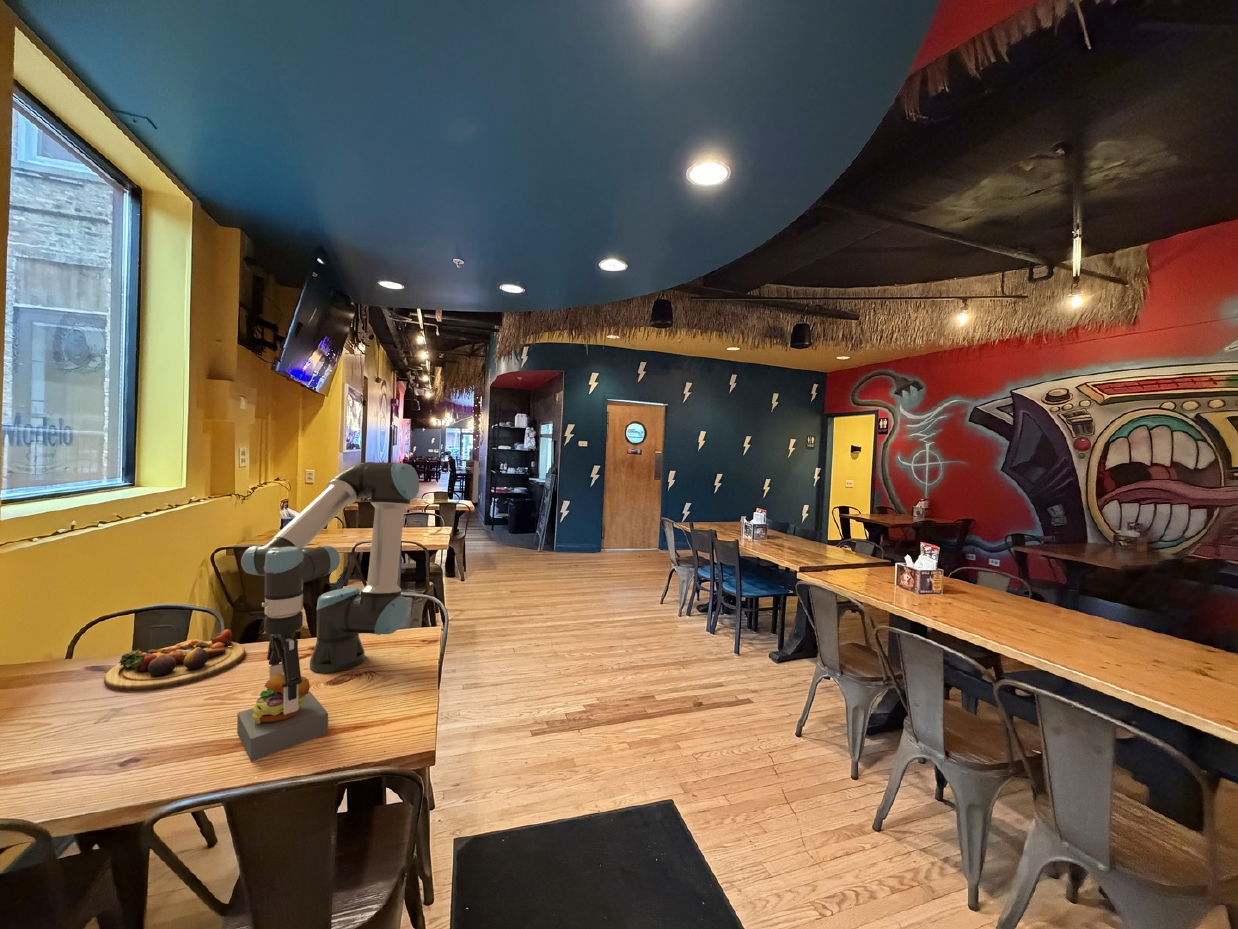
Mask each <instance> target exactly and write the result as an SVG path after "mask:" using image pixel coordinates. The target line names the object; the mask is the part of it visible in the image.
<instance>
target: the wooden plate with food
mask: <svg viewBox="0 0 1238 929" xmlns="http://www.w3.org/2000/svg"><path fill="white" fill-rule="evenodd" d="M232 640H233V632H232V630H231V629H223V630H222V631H220V632H219V631H218V633H216V635H214V636H212V637H211V638H210V640H201V639H198V638H193V639H188V640H185V641H183V642H179V643H176V644H175V645H171V646H168V647H167V646H166V647H163V648H159V649H154V648H153V649H148V650H146V651H145V653H143V651H141V650H140V648H138V649H137V650H131V651H128V652H127V653H123V655H121V658H120V660H119V662H118V664H116V665H115V666H113V667H112V668H111V669H110V670H108V671H107V673H105V676H103V677H104V678H103V682H104V684H105V686H107V687H108V688H109V689H112V690H115V691H121V692H147V691H155V690H156V691H157V690H162V689H168V688H174V687H177V686H182V685H187V684H190V683H194V682H196V681H200V680H203V679H206V678H209V677H212V676H214V675H218V674H220V673H222V672H224V671H227V670H229V669H230V668H232V667H234V666H235V665H237V664H238V663H240V661H242V659H243V658H244V657H245V655H246V649H245V647H244V646H243V645H242V644H241V643H238V642H234V641H232ZM228 646H232V647H228Z"/></svg>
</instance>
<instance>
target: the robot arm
mask: <svg viewBox="0 0 1238 929" xmlns="http://www.w3.org/2000/svg"><path fill="white" fill-rule="evenodd" d="M419 491H420V479H419V475H418V473H417V470H416V469H415V468H414V467H413V466H412V465H411V464H409V463H403V462H402V463H400V462H372V461H368V462H367V461H365V462H359V463H357V464H355V465H352V466H350V467H348V468H346V469H345V470H343V471H342V472H340V473H338V474H337V475H335V477H333V478H332V479H331V480H330V481H329V482H328V483H327V484H326V486H325V490H324V491H322V492H321V494H319V495H318V496H317V497H316V498H315V499H314V500H313V501H312V502H310V504H308V505H307V506H306V507H305V508H304V509H302V511H300V513H299V514H297V515H296V516H295V517H294V518H293V519H292V520H291V521H289V522H288V523H287V524H286V525H285V526H284V527H282V529H281V530H280V531H279V532H277V533H276V534H275V535H274V536H273V537H272V538H271V539H270V540H268V541H267V542H266V544H264V545H262V544H258V545H253V546H250V547H248V548H247V549H246V550H245V551H244V552H243V554H242V556H241V560H240V564H241V569H243V571H244V572H245V573H247V574H249V575H254V576H260V577H264V601H265V602H262V603H261V607H262V608H264V615H265V617H264V618H263V619H264V621H263V622H264V624H263V627H264V628H263V629H264V632H265V633H266V634H268V635H270V636H269V641H268V642H269V644H268V647H267V648H268V650H267V656H266V660H267V661H268V664H269V666H268V667H269V670H268V672H269V676H268V677H269V678H268V680H269V679H270V678H272V677H273V676H275V675H284V679H285V684H283V685H282V688H284V715H285V714H288V713H291V712H294V711H297V710H298V684H300V683H301V682H302V679H301V676H302V674H301V664H300V656H299V655H300V654H299V644H298V643H299V640H298V638H296V636H294V635H293V633H295V631H298V630H300V629H301V628H302V626H303V624H304V623H303V622H304V621H303V619H304V618H303V617H304V616H303V612H302V610H303V609H304V593H303V590H304V583H307V582H309V581H313V580H316V579H318V578H321V577H325V576H327V575H329V574H331V573H334V572H335V571H336V570H337V569H338V568H339V565H340V560H341V557H340V554H339V551H337V549H336V548H334V547H333V546H329V545H324V546H323V545H321V546H318V547H317V546H316V547H313V548H311V547H310V548H309V547H306V546H308V545H309V543H311V542H312V541H313V540H314V538H316V537H317V535H319V534H320V533H321V532H322V531H323V529H325V528H326V526H327V525H328V524H329V523H331V522H332V521H333V519H335V518H336V516H338V515H339V514H340V512H342V510H343V509H345V508H346V507H347V506H351V505H353V504H354V503H355V502H356V501H357V500H360V499H363V498H369V499H370V504H371V505H372V506H373V507H374V517H373V525H372V526H373V527H372V534H371V535H372V536H371V544H370V554H369V565H368V572H367V573H368V574H367V582H366V585H365V586H364V587H363V588H362V589H361V590H360V588H359V587H357V586H356V587H355V586H353V587H344V588H343V587H342V588H339V589H338V588H337V589H334V590H329V591H327V592H324V593H322V594H321V595H319V596H318V598H317V602H316V603H317V605H316V609H315V610H316V643H315V645H314V648H313V651H312V654H311V657H310V659H309V669H310V670H311V672H315V673H318V674H320V673H321V674H330V673H331V674H332V673H338V672H343V671H347V670H350V669H352V668H355V667H357V666H358V665H361V664H362V663H363V662H364V661H365V652H366V651H365V649H364V646H363V644H362V641H361V638H360V634H370V635H371V634H373V635H377V636H381V635H392V634H393V633H395V632H397V631H398V630H399V629H400V628H401V626H402V625H403V624H404V621H405V620H406V617H407V613H408V606H409V604H408V600H407V598H406V597H404V595H403V596H402V588H401V587H400V586H399V585H398V579H399V578H398V576H399V565H400V556H401V546H402V535H403V528H404V527H403V524H404V517H405V510H406V509H407V508H408V507H409V506H410V505H411V500H414V499H415V498H416V497H417V496H418V493H419ZM292 679H293V680H292Z"/></svg>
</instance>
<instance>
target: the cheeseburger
mask: <svg viewBox="0 0 1238 929" xmlns="http://www.w3.org/2000/svg"><path fill="white" fill-rule="evenodd" d="M301 679H302V682H301V683H300V684H298V710H297V711H294V712H291V713H288V714H285V715H284V688H282V685H283V684H285V679H284V674H283V675H275V676H273V677H272V678H270V679H269V678H268V680H267V681H266V683H264V688H266V690H262V691H261V692H260V694H259V696H260V697H258V698H257V699H256V701H255V704H254V706H253V707H252V708H253V710H254V713H253V717H252V719H253V720H254V722H255V723H256V724H260V723H261V722H271V721H277V720H283V719H287V718H289V717H292V716H294V715H296V714H297V713H298V712H299V711H300V708H301V705H302V704H303V701H304V699H305V695H307V694H308V693H309V692H308V691H310V687H311V685H310V681H309V679H308V678H307V677H305V676H303V675H301ZM292 680H293V679H292ZM260 721H261V722H260Z"/></svg>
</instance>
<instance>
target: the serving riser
mask: <svg viewBox="0 0 1238 929" xmlns="http://www.w3.org/2000/svg"><path fill="white" fill-rule="evenodd" d="M308 692H309V693H308V694H307V695H305V699H304V701H303V704H302V705H301V708H300V711H299V712H298V713H297V714H296V715H294V716H292V717H289V718H287V719H283V720H277V721H271V722H261V721H260V722H261V723H260V724H256V723H255V722H254V720H253V719H252V717H253V713H254V710H253V708H254V707H251V708H248V709H245V710H241V711H238V712H237V716H236V718H237V725H236V726H237V727H236V728H237V729H236V730H237V731H236V732H237V736H238V737H239V740H240V742H241V744H242V746H243V748H244V751H245V752H246V755H247V756H248V760H249V761H250V762H253V761H257V760H259V759H262V758H264V757H268V756H270V755H273V754H276V753H279V752H281V751H284V750H287V749H289V748H292V747H295V746H298V745H302V744H304V743H305V742H308V741H311V740H314V739H317V738H320V737H323V736H325V735H328V734H329V712H328V711H327V710H326V709H325V708H324V707H323V705H322V704H321V702H320V701H319V700H318V699H317V698H316V697H315V696H314V695H313V693H312V692H311V691H310V690H309V691H308Z"/></svg>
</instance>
